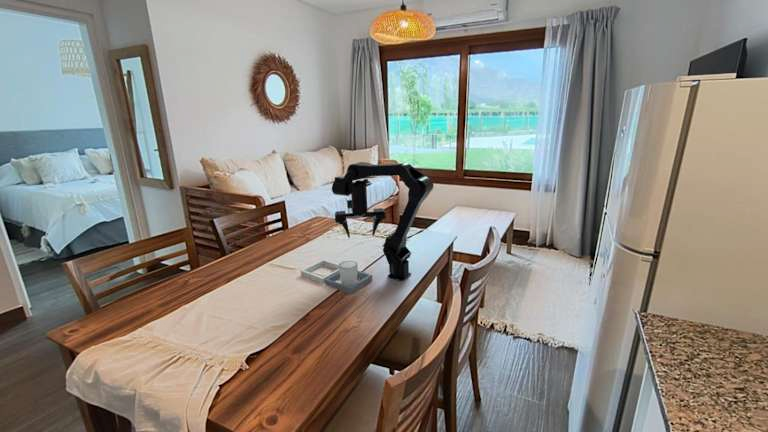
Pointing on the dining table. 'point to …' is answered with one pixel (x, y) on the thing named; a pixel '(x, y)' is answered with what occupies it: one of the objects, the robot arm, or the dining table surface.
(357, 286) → the tray
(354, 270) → the shot glass
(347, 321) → the dining table surface
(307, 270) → the tray
